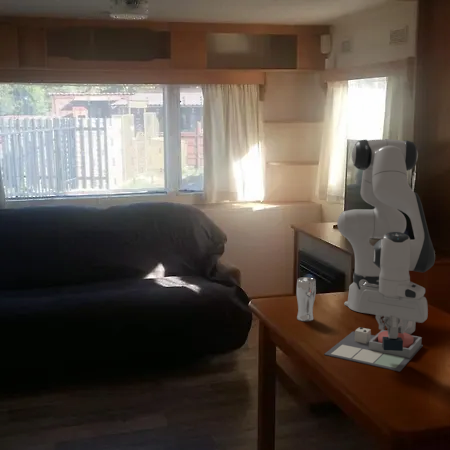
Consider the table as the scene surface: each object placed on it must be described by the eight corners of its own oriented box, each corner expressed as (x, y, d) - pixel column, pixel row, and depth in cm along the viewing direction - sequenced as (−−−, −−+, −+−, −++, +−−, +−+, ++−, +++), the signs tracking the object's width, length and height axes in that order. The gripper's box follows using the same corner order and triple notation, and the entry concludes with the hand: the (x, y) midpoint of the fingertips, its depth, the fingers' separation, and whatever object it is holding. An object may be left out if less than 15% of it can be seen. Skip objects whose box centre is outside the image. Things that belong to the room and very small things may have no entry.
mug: (385, 327, 224) (386, 297, 222) (409, 326, 224) (411, 296, 222) (397, 339, 212) (398, 307, 210) (422, 338, 213) (424, 307, 211)
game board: (352, 332, 218) (353, 319, 218) (422, 345, 206) (423, 332, 205) (324, 354, 198) (324, 341, 197) (399, 371, 185) (400, 357, 184)
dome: (384, 337, 211) (384, 321, 210) (417, 343, 205) (418, 327, 204) (373, 347, 202) (374, 330, 201) (407, 354, 196) (408, 337, 195)
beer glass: (314, 322, 228) (315, 282, 226) (294, 321, 230) (296, 281, 227) (315, 316, 235) (316, 277, 232) (296, 315, 236) (297, 276, 234)
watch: (399, 345, 194) (400, 310, 194) (403, 352, 187) (404, 315, 186) (381, 345, 195) (382, 310, 195) (384, 351, 187) (384, 314, 187)
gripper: (357, 284, 191) (355, 327, 194) (425, 294, 181) (422, 340, 183) (364, 279, 197) (362, 321, 199) (430, 289, 186) (427, 334, 188)
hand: (391, 330), depth 191 cm, fingers closed on watch, 4 cm apart
